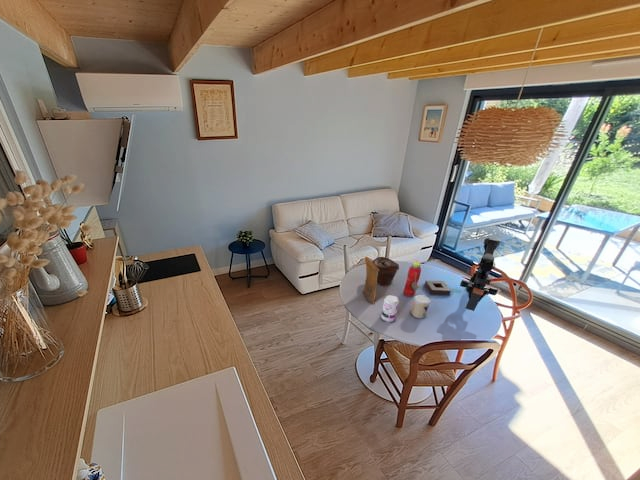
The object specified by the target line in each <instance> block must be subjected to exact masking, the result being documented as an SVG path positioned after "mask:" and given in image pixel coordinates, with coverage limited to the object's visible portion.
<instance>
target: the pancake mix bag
mask: <svg viewBox="0 0 640 480" xmlns="http://www.w3.org/2000/svg"><path fill="white" fill-rule="evenodd" d="M364 262H365V271H366V274H365V283H364V289H363V295H364V297H365V298H366V300H367V302H369V303H371V304H374V302H375V301H376V292H377V291H376V290H377V283H376V282H377V275H378V270H379V269H378V268H377V266H376V265H375V264H374V263H373V260H370V258H369V257H368V256H367V255H366V256H365V257H364Z"/></svg>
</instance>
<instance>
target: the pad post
mask: <svg viewBox="0 0 640 480" xmlns="http://www.w3.org/2000/svg"><path fill="white" fill-rule="evenodd" d="M483 292H484V290H480V289H477V288H474V289H473V292H472V293H471V297H470V299H469V298H468V301H467V303H466V305H465V309H467V310H469V311H472V312H475V310H476V309H477V306H478V304H479V300H480V298H481V296H482V295H483ZM480 301H481V300H480Z"/></svg>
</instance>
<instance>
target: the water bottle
mask: <svg viewBox="0 0 640 480" xmlns="http://www.w3.org/2000/svg"><path fill="white" fill-rule="evenodd" d="M421 273H422V268H421V263H420V262H417V261H414V262H413V263H412V264H411V265H410V266H409V269H408V272H407V277H406V282H405V284H404V288H403V294H404V295H405V296H406V297H414V296H415V294H416V292H417V290H418V289H419V285H418V283H419V279H420V278H421V277H420V276H421Z"/></svg>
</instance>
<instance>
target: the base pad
mask: <svg viewBox="0 0 640 480" xmlns="http://www.w3.org/2000/svg"><path fill="white" fill-rule="evenodd" d="M424 287H425V289H426V290H427V291H428V293H429V294H430V295H431V296H450V295H451V292H452V290H451V289H450V287H449V286H448V285H447V283H446V282H445V280H425V282H424Z"/></svg>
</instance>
